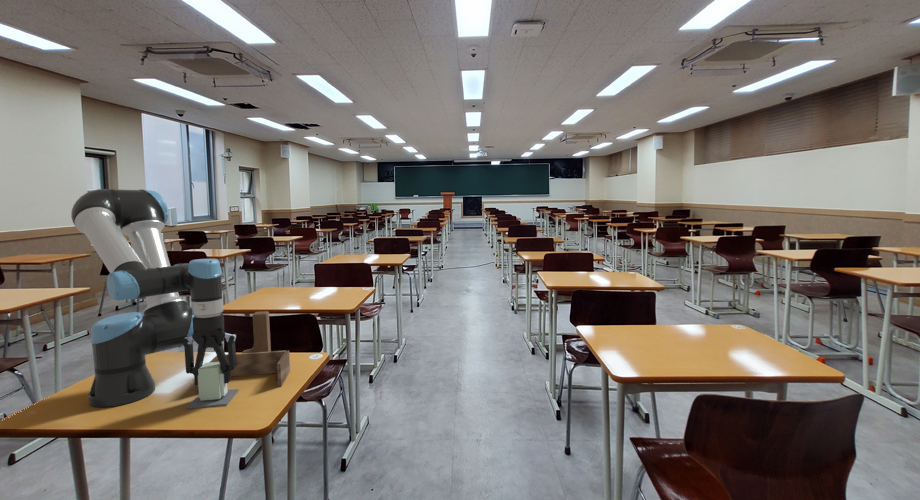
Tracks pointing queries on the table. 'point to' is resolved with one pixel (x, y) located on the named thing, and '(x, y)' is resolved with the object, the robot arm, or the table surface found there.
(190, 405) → the mat
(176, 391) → the table surface
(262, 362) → the cubby
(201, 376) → the block
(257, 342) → the wooden block
